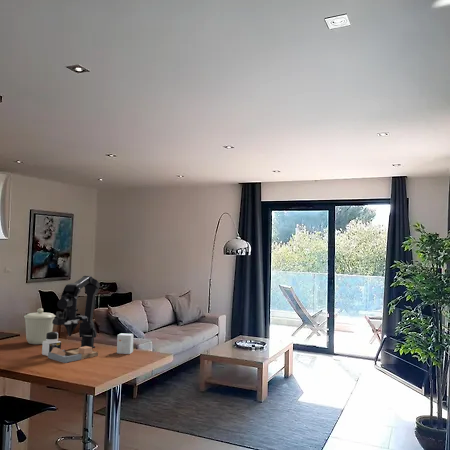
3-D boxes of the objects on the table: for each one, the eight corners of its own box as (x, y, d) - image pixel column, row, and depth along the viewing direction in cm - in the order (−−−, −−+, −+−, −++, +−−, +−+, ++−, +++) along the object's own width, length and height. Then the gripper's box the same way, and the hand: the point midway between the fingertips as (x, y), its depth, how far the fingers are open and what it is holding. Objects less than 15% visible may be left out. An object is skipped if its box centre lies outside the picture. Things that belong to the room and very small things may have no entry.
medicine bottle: (48, 356, 235) (50, 334, 236) (41, 354, 239) (42, 332, 240) (60, 354, 241) (61, 332, 242) (53, 352, 245) (54, 330, 246)
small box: (133, 352, 252) (133, 333, 252) (130, 354, 246) (130, 335, 247) (119, 351, 253) (120, 333, 253) (116, 353, 247) (117, 334, 248)
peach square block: (86, 351, 241) (86, 346, 241) (91, 352, 238) (92, 347, 238) (78, 353, 237) (78, 347, 237) (84, 354, 234) (84, 348, 234)
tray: (64, 355, 239) (64, 349, 240) (81, 359, 231) (81, 353, 231) (48, 358, 231) (48, 352, 232) (65, 363, 223) (65, 357, 223)
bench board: (82, 351, 248) (82, 348, 248) (97, 355, 240) (98, 352, 240) (65, 355, 239) (65, 351, 239) (81, 359, 231) (81, 355, 231)
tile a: (53, 347, 233) (50, 352, 231) (59, 348, 230) (56, 353, 228) (60, 351, 236) (56, 356, 234) (65, 353, 233) (62, 358, 231)
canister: (23, 340, 274) (25, 306, 275) (54, 339, 280) (56, 306, 281) (21, 346, 257) (23, 310, 258) (54, 345, 263) (56, 310, 265)
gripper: (76, 304, 251) (75, 331, 250) (47, 307, 236) (45, 336, 235) (88, 306, 244) (87, 334, 243) (59, 309, 229) (57, 339, 228)
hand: (69, 336), depth 238 cm, fingers closed
